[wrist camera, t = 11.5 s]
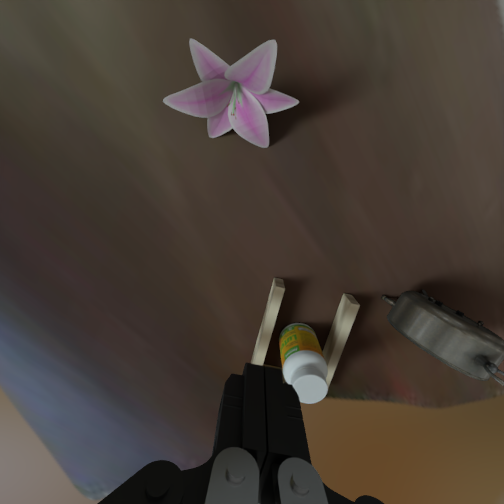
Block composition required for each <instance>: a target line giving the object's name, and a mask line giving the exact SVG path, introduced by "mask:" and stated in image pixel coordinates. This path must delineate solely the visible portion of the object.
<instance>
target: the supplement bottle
mask: <svg viewBox="0 0 504 504" xmlns="http://www.w3.org/2000/svg"><path fill="white" fill-rule="evenodd" d="M279 346H280V354H281V361H282V369H283V375H284V378H285V380H286V382H287V383H288V384H291V385H292V386H293V387H294V389H295V391H296V392H297V394H298V396H299V400H300V402H302V403H306V404H313V403H317V402H319V401H321V400H322V399H323V398H324V397H325V396H326V394H327V391H328V385H327V382H326V377H327V373H328V369H327V364H326V361H325V358H324V356H323V353H322V350H321V348H320V345H319V342H318V339H317V337H316V334H315V332H314V330H313V329H312V328H311V327H309V326H308V325H306V324H303V323H293V324H290V325H288V326H286V327H285V328H284V329H283V330H282V332H281V333H280V336H279Z"/></svg>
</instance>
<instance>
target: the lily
mask: <svg viewBox="0 0 504 504" xmlns="http://www.w3.org/2000/svg"><path fill="white" fill-rule="evenodd" d="M189 44H190V50H191V54H192V58H193V61H194V64H195V67H196V70H197V72H198V75H199V77H200V79H201V81H202V82H201V83H199V84H197V85H194V86H192V87H190V88H187V89H185V90H182V91H180V92H177V93H174V94H172V95H169V96H167V97H166V98H164V99H163V102H164V103H165V104H166V105H168V106H170V107H172V108H174V109H176V110H178V111H181V112H183V113H186V114H189V115H192V116H196V117H200V118H208V120H207V127H208V134H209V137H212V138H215V137H218V136H220V135H223V134H224V133H226V132H228V131H229V130H231V129H232V128H233V129H234V131H235V132H236V133H237V134H238V135H240V136H241V137H242V138H244V139H245V140H247V141H249V142H251V143H252V144H255V145H257V146H259V147H262V148H267V147H268V146H269V131H268V122H267V118H266V115H265V114H270V113H275V112H279V111H282V110H285V109H288V108H291V107H293V106H295V105H297V104H298V103H299V101H298V100H297V99H295V98H293V97H291V96H288V95H286V94H283V93H281V92H278V91H276V90H273V89H270V88H269V87H270V85H271V81H272V78H273V73H274V68H275V63H276V56H277V44H276V41H275V40H269V41H267V42H265V43H263V44H261V45H260V46H259V47H257V48H256V49H254V50H253V51H251V52H250V53H249V54H247V55H246V56H245V57H243V58H242V59H240V60H239V61H237V62H236V63H234V64H233V65H232V66H229V65H228V64H227V63H225V62H224V61H223V60H222V59H221V58H219V57H218V56H217V55H215V54H214V53H213V52H211V51H210V50H209V49H207V48H206V47H205V46H203V45H202V44H200V43H199V42H197V41H196V40H194V39H190V41H189Z"/></svg>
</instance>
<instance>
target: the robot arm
mask: <svg viewBox="0 0 504 504" xmlns="http://www.w3.org/2000/svg"><path fill="white" fill-rule="evenodd" d="M98 504H384V503H382V502H381V501H380V500H378V499H376V498H374V497H371V496H367V495H364V496H360V497H358V498H357V499H356V501H355V502H353V501H351V500H349V499H347V498H345V497H343V496H341V495H340V494H338V493H336V492H334V491H333V490H331V489H330V488H328V487H327V486H326V485H325V484H324V483H323V482H322V480H321V478H320V476H319V474H318V472H317V471H316V470H315V468H314V467H313V466H312V464H311V460H310V454H309V449H308V444H307V438H306V433H305V427H304V422H303V417H302V412H301V406H300V400H299V396H298V394H297V392H296V391H295V389H294V387H293V386H292V385H291V384H286V383H283V377H282V371H281V369H278V368H273V367H267V366H262V365H256V364H251V363H246V364H245V367H244V371H243V375H237V374H231V375H230V377H229V378H228V380H227V381H226V382H225V386H224V391H223V395H222V399H221V403H220V408H219V413H218V419H217V426H216V433H215V439H214V446H213V452H212V457H211V458H210V459H209V460H208V461H207V462H206V463H204V464H203V465H201V466H199V467H196V468H192V469H188V470H183V471H181V470H180V469H179V468H178V466H177V465H175V464H174V463H172V462H170V461H166V460H159V461H154V462H151V463H149V464H147V465H146V466H144V467H143V468H142V469H141V470H139V471H138V472H137V473H136V474H134V475H133V476H132V477H130V478H129V479H128V480H127V481H125V482H124V483H123V484H122V485H120V486H119V487H118V488H117V489H115V490H114V491H113V492H112V493H110V494H109V495H108V496H107V497H105V498H104V499H103V500H102V501H100V502H99V503H98Z"/></svg>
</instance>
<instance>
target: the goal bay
mask: <svg viewBox="0 0 504 504" xmlns="http://www.w3.org/2000/svg"><path fill="white" fill-rule="evenodd" d="M284 291H285V286H284V282H283V279H279V278H274V280H273V284H272V288H271V291H270V295H269V299H268V302H267V306H266V309H265V313H264V317H263V320H262V324H261V328H260V331H259V335H258V338H257V342H256V346H255V349H254V353H253V356H252V360H251V364H256V365H262V366H267V367H273V368H278V369H281V371H282V377H283V383H286V384H288V383H287V382H286V380H285V378H284V375H283V369H282V368H280V367H275V366H271V365H266V364H263V363H264V359H265V356H266V352H267V349H268V346H269V342H270V339H271V335H272V332H273V328H274V325H275V322H276V318H277V315H278V311H279V308H280V305H281V301H282V298H283V294H284ZM359 307H360V305H359V303H358V302H357V301H356V300H355V298H354V297H353V296H352V295H349V294H345V293H344V294H343V296H342V299H341V302H340V305H339V307H338V310H337V313H336V316H335V318H334V321H333V324H332V327H331V330H330V332H329V335H328V338H327V341H326V343H325V346H324V349H323V352H322V353H323V356H324V358H325V361H326V364H327V369H328V373H327V377H326V382H327V385H328V387H329V385H330V382H331V380H332V377H333V374H334V372H335V369H336V367H337V364H338V361H339V359H340V356H341V354H342V351H343V348H344V346H345V343H346V341H347V338H348V335H349V333H350V330H351V328H352V325H353V322H354V320H355V317H356V315H357V312H358V309H359ZM324 398H325V397H324Z"/></svg>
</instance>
